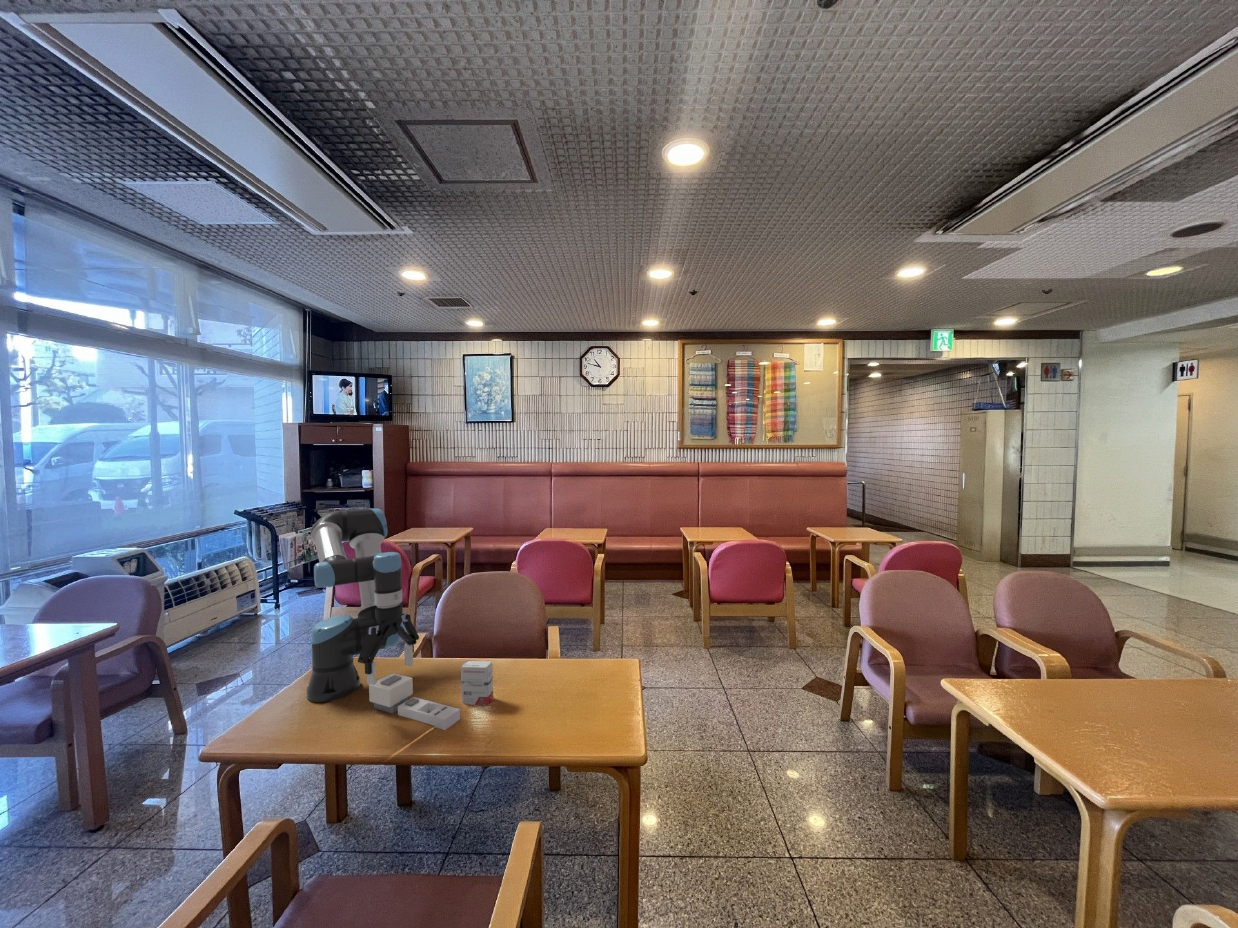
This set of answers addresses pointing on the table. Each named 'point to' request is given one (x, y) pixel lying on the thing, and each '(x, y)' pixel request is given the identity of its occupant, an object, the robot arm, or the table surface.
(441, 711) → the socket
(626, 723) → the table surface
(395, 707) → the plug rest
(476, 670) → the ink box
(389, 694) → the plug
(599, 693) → the table surface
